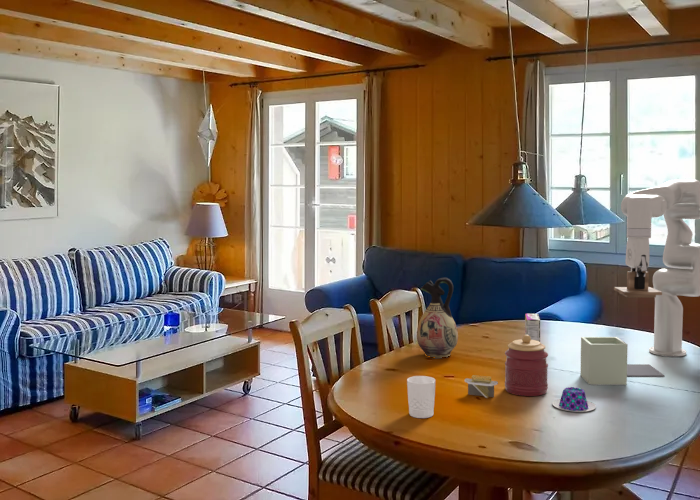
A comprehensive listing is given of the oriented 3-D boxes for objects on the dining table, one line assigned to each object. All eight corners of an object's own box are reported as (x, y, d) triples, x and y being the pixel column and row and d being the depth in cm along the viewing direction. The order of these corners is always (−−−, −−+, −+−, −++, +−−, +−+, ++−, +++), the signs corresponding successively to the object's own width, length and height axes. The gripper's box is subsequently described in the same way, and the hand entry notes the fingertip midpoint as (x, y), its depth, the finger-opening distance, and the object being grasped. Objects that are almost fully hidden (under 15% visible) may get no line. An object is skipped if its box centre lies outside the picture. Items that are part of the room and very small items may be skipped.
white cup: (405, 410, 198) (404, 376, 197) (432, 409, 198) (432, 375, 197) (409, 419, 190) (409, 384, 189) (438, 418, 191) (438, 383, 190)
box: (580, 375, 230) (581, 337, 229) (616, 375, 230) (616, 336, 228) (589, 384, 220) (589, 344, 219) (626, 384, 219) (627, 344, 218)
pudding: (566, 416, 192) (567, 397, 191) (544, 403, 203) (544, 385, 203) (604, 411, 195) (605, 393, 194) (580, 399, 206) (580, 382, 206)
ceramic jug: (411, 359, 255) (410, 278, 252) (423, 349, 269) (422, 273, 267) (456, 363, 249) (456, 280, 246) (466, 353, 263) (466, 275, 260)
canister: (524, 399, 206) (524, 341, 204) (495, 388, 217) (496, 333, 216) (556, 393, 212) (557, 336, 210) (527, 382, 223) (528, 328, 222)
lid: (613, 292, 238) (614, 269, 237) (649, 292, 237) (650, 269, 237) (624, 298, 227) (624, 274, 226) (661, 298, 226) (662, 273, 226)
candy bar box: (524, 356, 256) (524, 313, 254) (538, 357, 255) (538, 313, 253) (525, 364, 245) (526, 319, 243) (540, 365, 244) (541, 319, 242)
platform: (506, 407, 201) (506, 385, 200) (446, 400, 208) (446, 379, 207) (513, 395, 212) (514, 374, 211) (456, 389, 219) (456, 368, 218)
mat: (608, 365, 242) (608, 364, 242) (649, 365, 241) (649, 364, 241) (621, 376, 228) (621, 375, 228) (664, 376, 227) (664, 375, 227)
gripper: (619, 231, 239) (618, 284, 240) (635, 235, 222) (634, 292, 224) (641, 231, 238) (640, 284, 240) (659, 235, 222) (658, 291, 224)
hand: (637, 287), depth 232 cm, fingers closed on lid, 3 cm apart
